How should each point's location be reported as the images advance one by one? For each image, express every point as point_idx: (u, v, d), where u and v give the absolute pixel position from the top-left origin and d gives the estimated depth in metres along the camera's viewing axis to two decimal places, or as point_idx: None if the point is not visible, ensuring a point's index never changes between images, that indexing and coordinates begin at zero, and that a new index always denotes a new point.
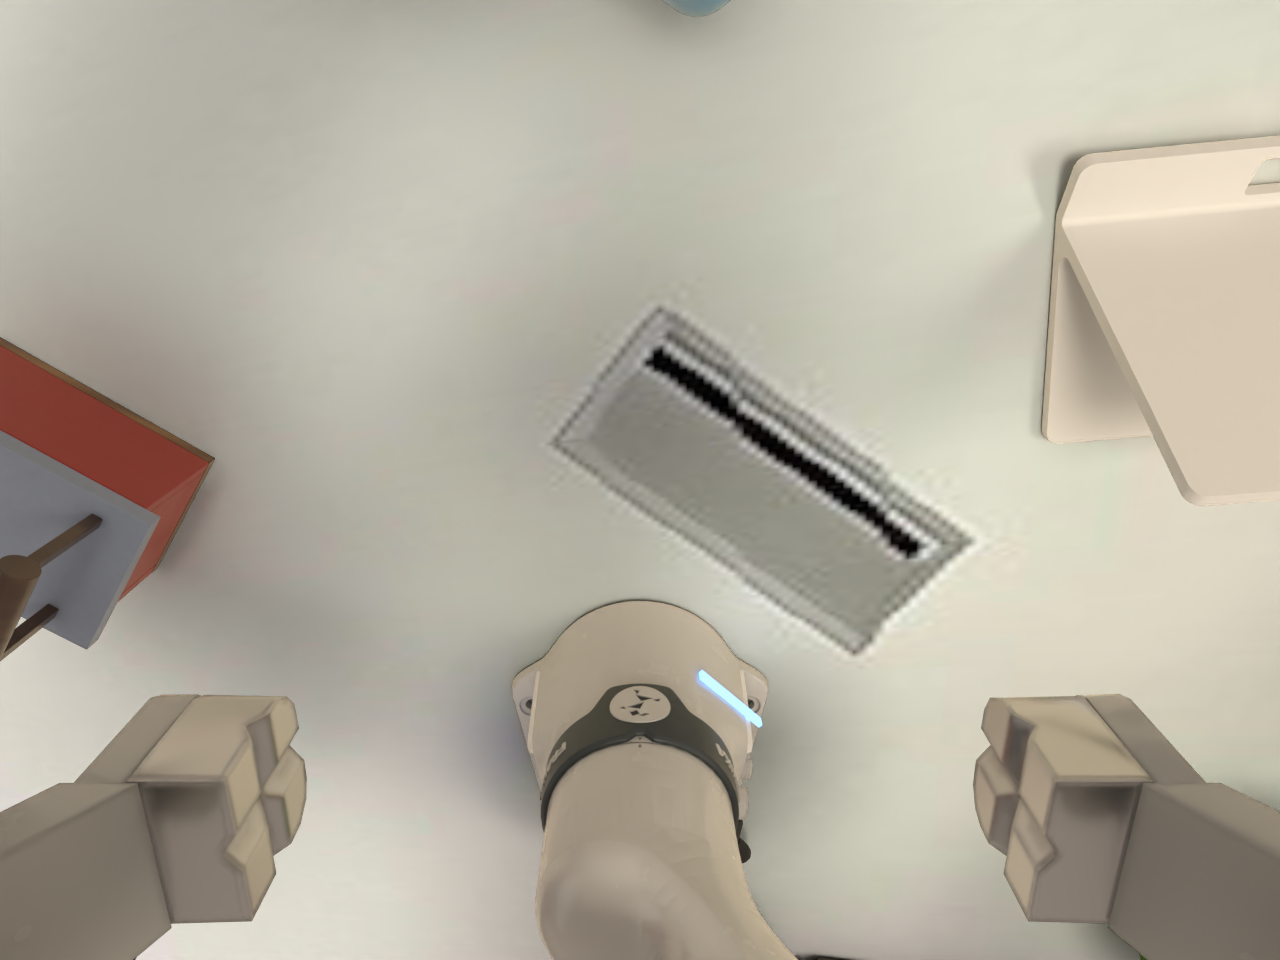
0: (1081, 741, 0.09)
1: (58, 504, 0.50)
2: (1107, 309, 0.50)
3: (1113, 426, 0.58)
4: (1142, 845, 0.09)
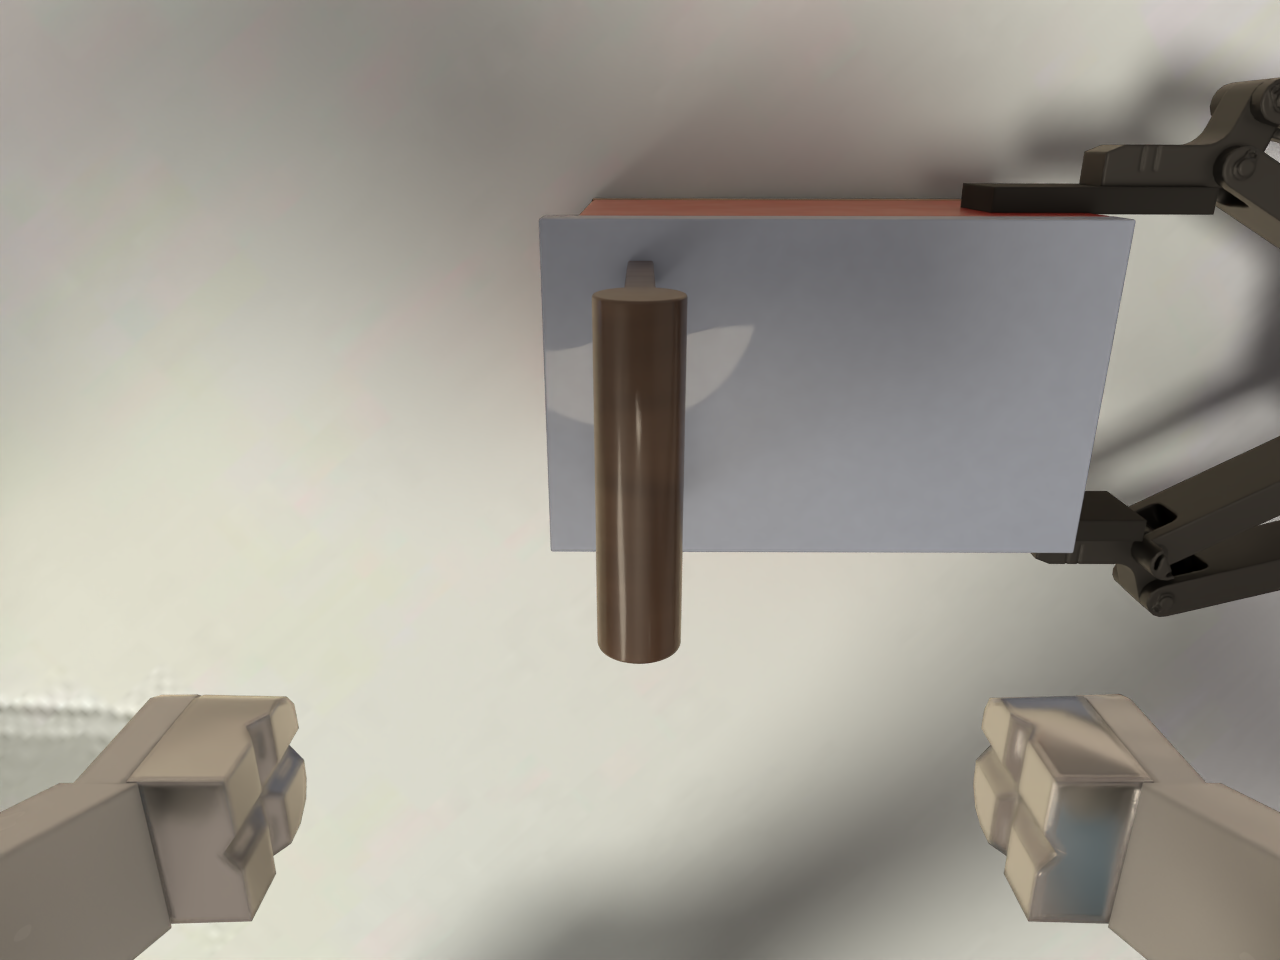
0: (1081, 741, 0.09)
1: (710, 501, 0.27)
2: None
3: None
4: (1142, 845, 0.09)
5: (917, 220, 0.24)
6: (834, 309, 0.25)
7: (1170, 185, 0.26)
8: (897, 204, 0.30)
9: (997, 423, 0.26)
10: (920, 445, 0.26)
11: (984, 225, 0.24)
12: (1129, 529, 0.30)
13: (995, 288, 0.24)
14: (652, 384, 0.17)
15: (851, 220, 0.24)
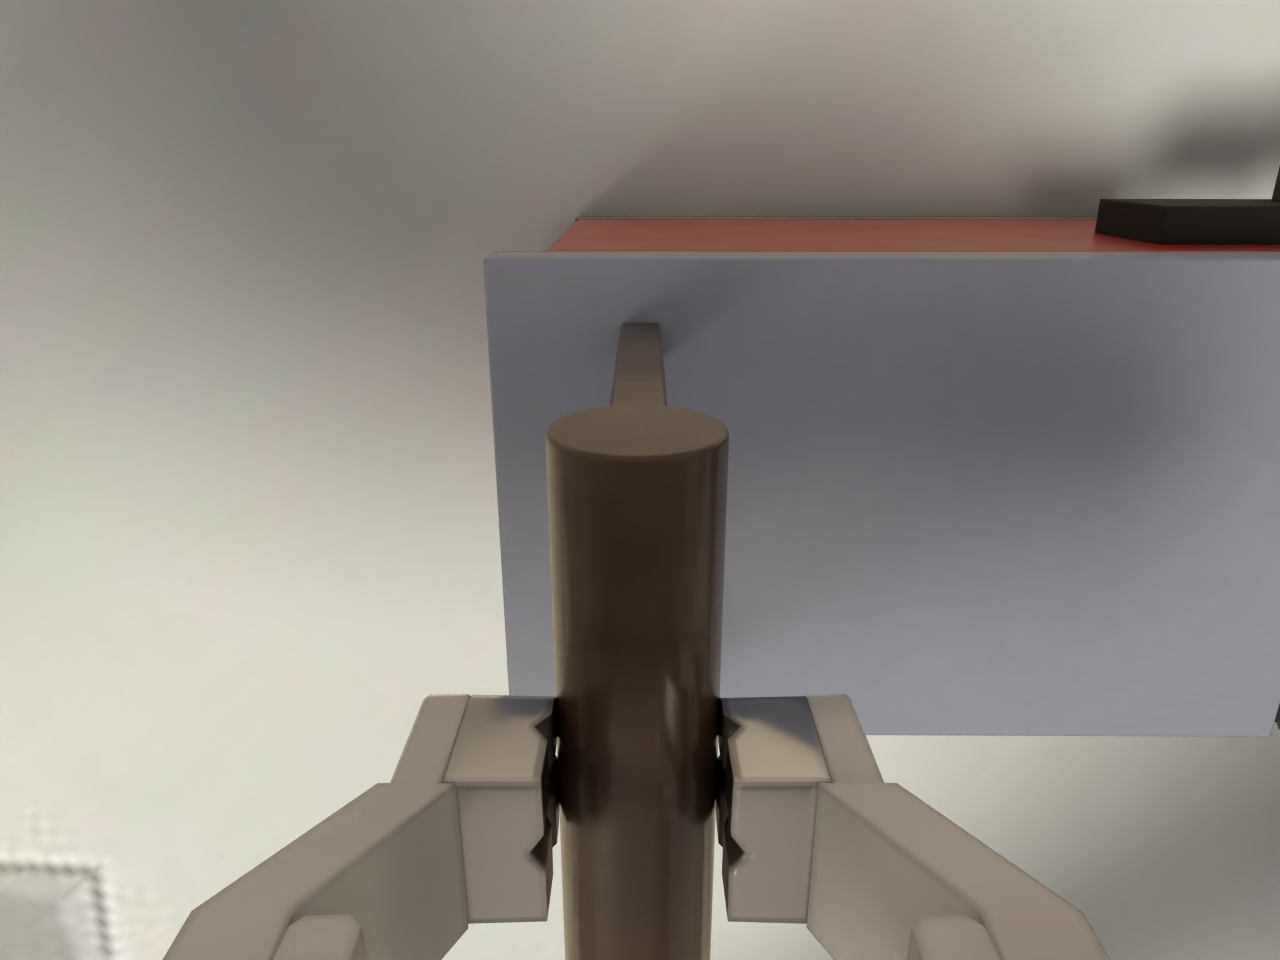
0: (779, 741, 0.09)
1: (744, 667, 0.18)
2: None
3: None
4: (823, 845, 0.09)
5: (1070, 261, 0.15)
6: (935, 394, 0.16)
7: None
8: (998, 227, 0.22)
9: (1174, 559, 0.17)
10: (1056, 589, 0.17)
11: (1173, 268, 0.15)
12: None
13: (1183, 363, 0.16)
14: (662, 608, 0.09)
15: (967, 261, 0.15)
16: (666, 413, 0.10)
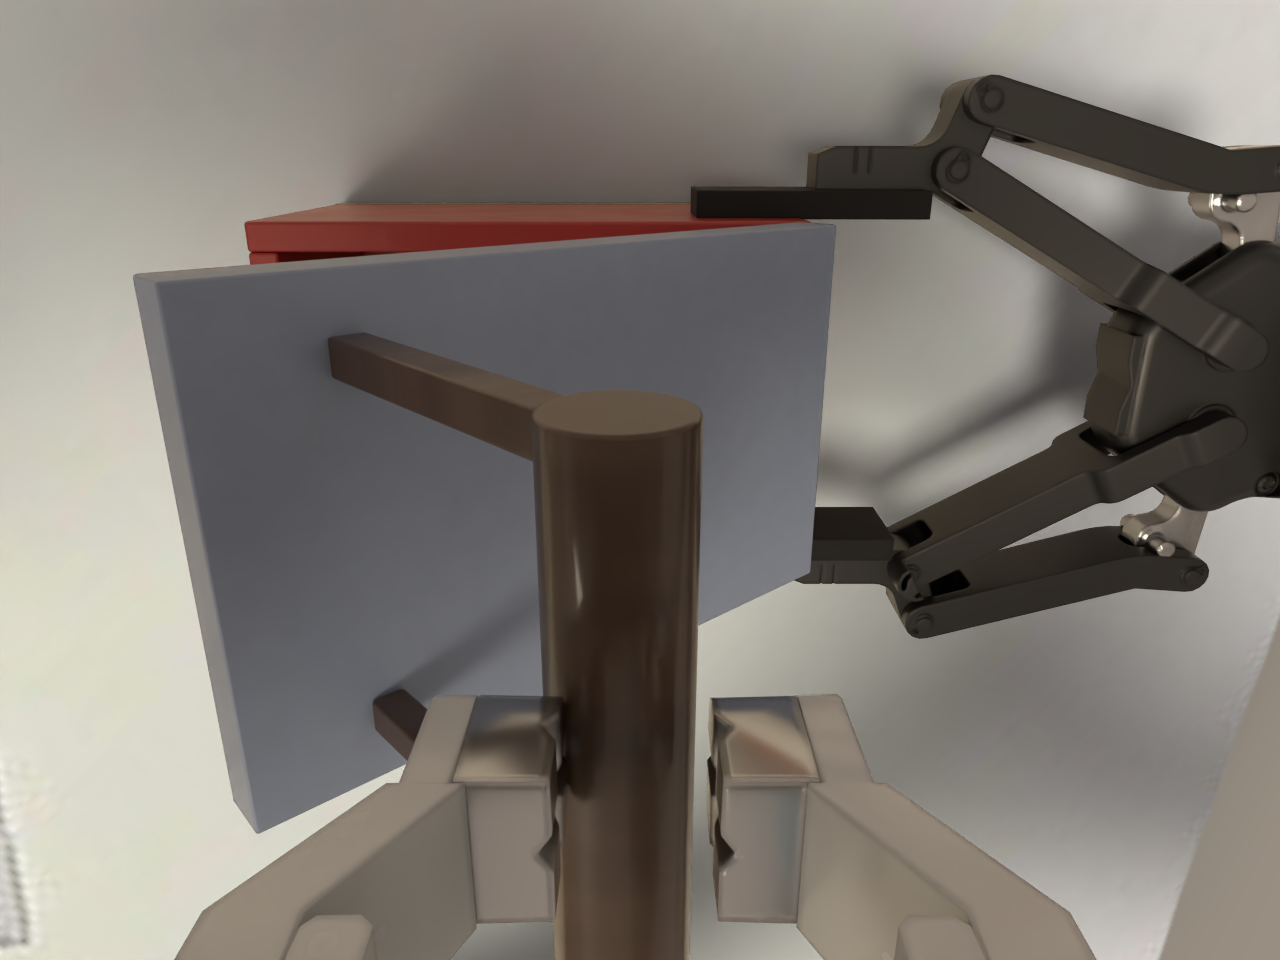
0: (770, 741, 0.09)
1: (481, 659, 0.18)
2: None
3: None
4: (812, 845, 0.09)
5: (671, 240, 0.19)
6: (598, 363, 0.18)
7: (888, 188, 0.25)
8: (637, 208, 0.29)
9: (751, 461, 0.23)
10: None
11: (728, 241, 0.20)
12: (877, 548, 0.28)
13: (741, 312, 0.21)
14: (688, 562, 0.10)
15: (607, 245, 0.18)
16: (609, 396, 0.10)
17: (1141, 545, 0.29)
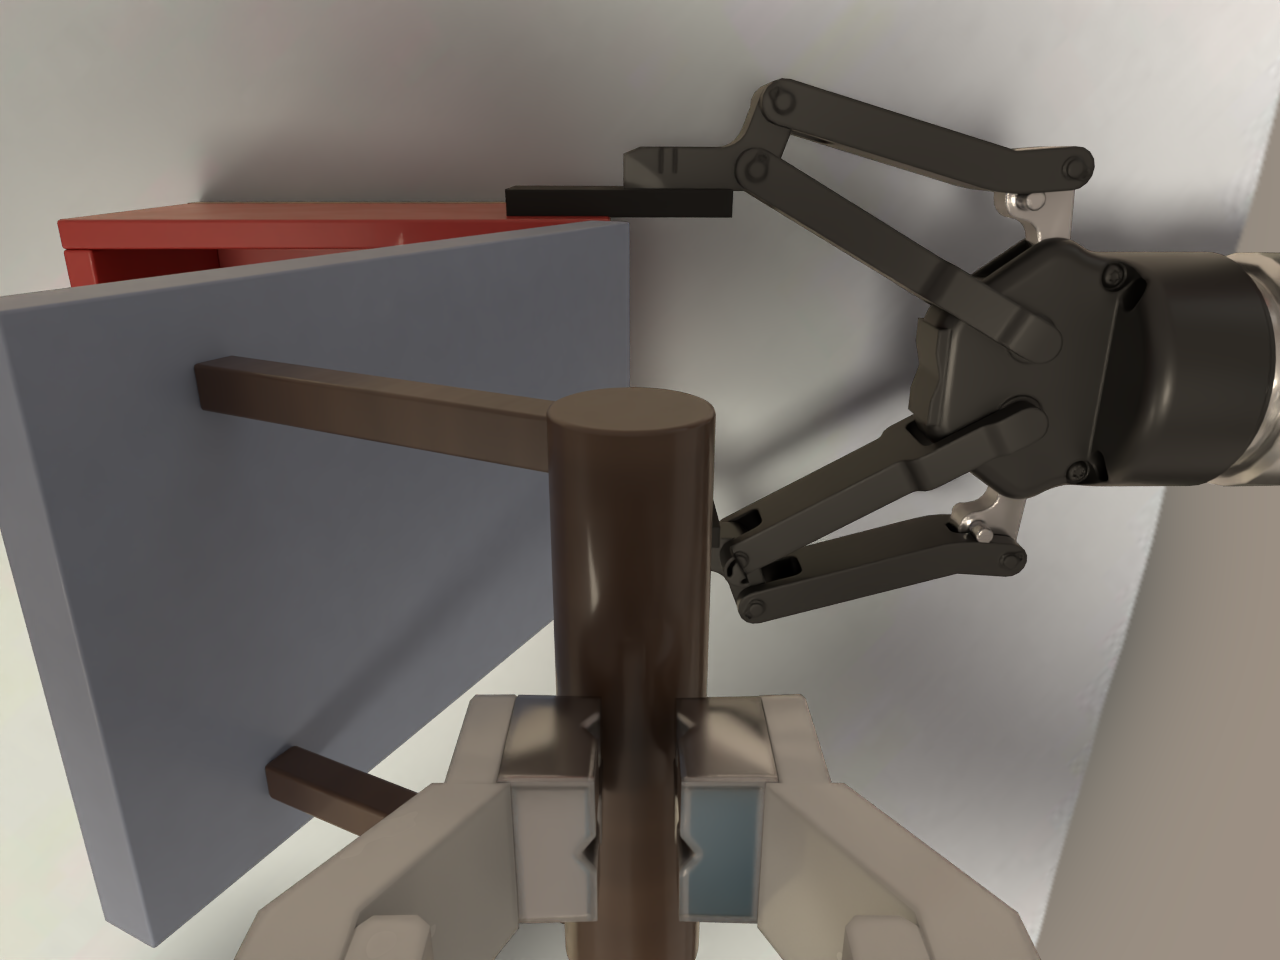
0: (730, 741, 0.09)
1: (365, 697, 0.17)
2: None
3: None
4: (770, 845, 0.09)
5: (503, 241, 0.19)
6: (450, 371, 0.18)
7: (694, 188, 0.26)
8: (472, 207, 0.29)
9: None
10: (534, 506, 0.22)
11: (548, 240, 0.20)
12: None
13: (563, 310, 0.21)
14: (710, 545, 0.10)
15: (451, 249, 0.17)
16: (604, 394, 0.10)
17: (964, 532, 0.30)
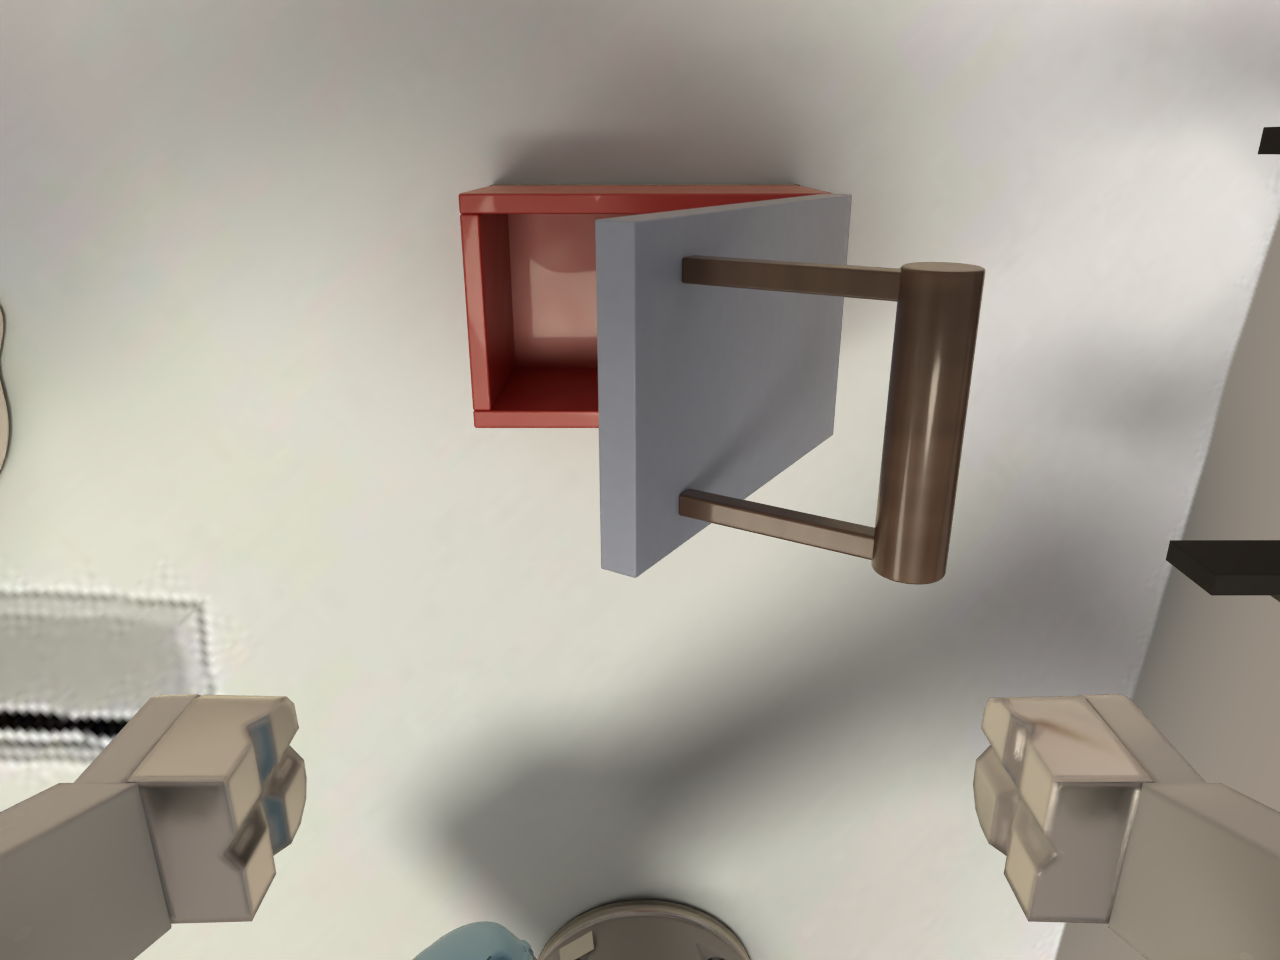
0: (1081, 741, 0.09)
1: (715, 474, 0.29)
2: None
3: None
4: (1142, 845, 0.09)
5: (794, 202, 0.30)
6: None
7: None
8: (709, 187, 0.41)
9: (814, 352, 0.34)
10: (792, 380, 0.33)
11: (813, 203, 0.31)
12: None
13: (815, 250, 0.32)
14: (976, 336, 0.21)
15: (773, 205, 0.29)
16: (924, 263, 0.22)
17: None
